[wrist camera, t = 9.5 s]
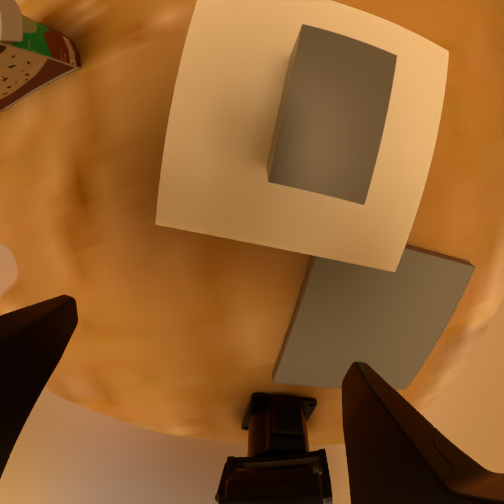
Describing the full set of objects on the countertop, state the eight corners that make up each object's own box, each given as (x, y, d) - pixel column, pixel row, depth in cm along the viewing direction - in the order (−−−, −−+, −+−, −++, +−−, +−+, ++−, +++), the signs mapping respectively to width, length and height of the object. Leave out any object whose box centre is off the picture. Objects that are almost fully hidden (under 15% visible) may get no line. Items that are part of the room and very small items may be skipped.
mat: (402, 382, 25) (405, 389, 24) (272, 374, 24) (272, 382, 23) (469, 262, 19) (475, 267, 18) (320, 224, 19) (323, 229, 18)
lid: (389, 265, 14) (429, 316, 10) (160, 219, 14) (118, 260, 9) (440, 54, 10) (498, 38, 5) (206, -12, 9) (182, -64, 5)
